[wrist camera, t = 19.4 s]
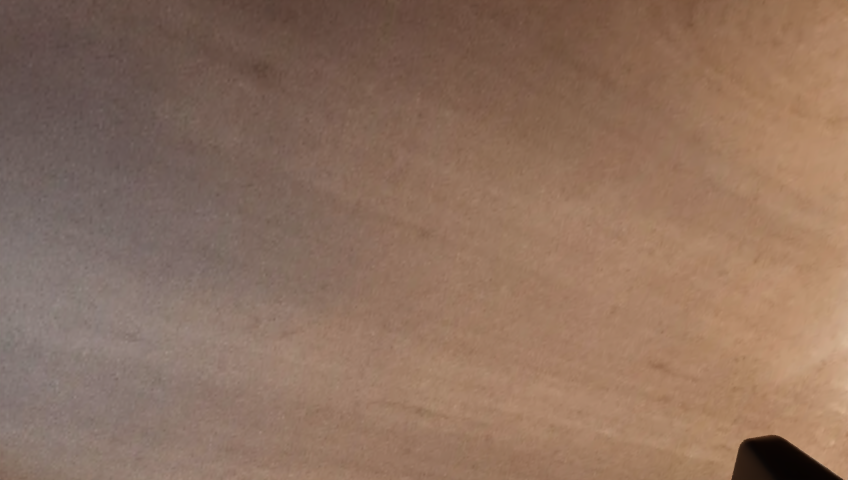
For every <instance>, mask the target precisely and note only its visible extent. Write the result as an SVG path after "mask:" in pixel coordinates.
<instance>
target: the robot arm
mask: <svg viewBox="0 0 848 480" xmlns="http://www.w3.org/2000/svg"><path fill="white" fill-rule="evenodd" d="M731 480H843V479H842V478H841V477H839V476H838V475H836V474H835V473H833V472H832V471H830V470H829V469H828V468H826V467H825V466H823V465H822V464H820V463H819V462H817V461H816V460H815V459H813V458H812V457H810V456H809V455H807V454H806V453H804V452H803V451H802V450H800V449H799V448H797V447H796V446H794V445H793V444H791V443H790V442H789V441H787V440H786V439H784V438H782V437H780V436H777V435H767V436H761V437H755V438H749V439H746V440H744V441H743V442H742V443H741V444H740V447H739V450H738V454H737V458H736V463H735V467H734V471H733V475H732V479H731Z"/></svg>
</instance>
